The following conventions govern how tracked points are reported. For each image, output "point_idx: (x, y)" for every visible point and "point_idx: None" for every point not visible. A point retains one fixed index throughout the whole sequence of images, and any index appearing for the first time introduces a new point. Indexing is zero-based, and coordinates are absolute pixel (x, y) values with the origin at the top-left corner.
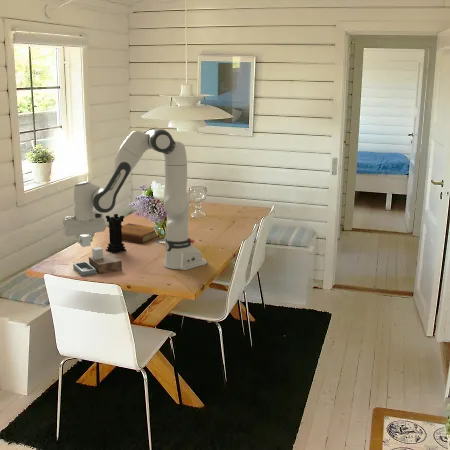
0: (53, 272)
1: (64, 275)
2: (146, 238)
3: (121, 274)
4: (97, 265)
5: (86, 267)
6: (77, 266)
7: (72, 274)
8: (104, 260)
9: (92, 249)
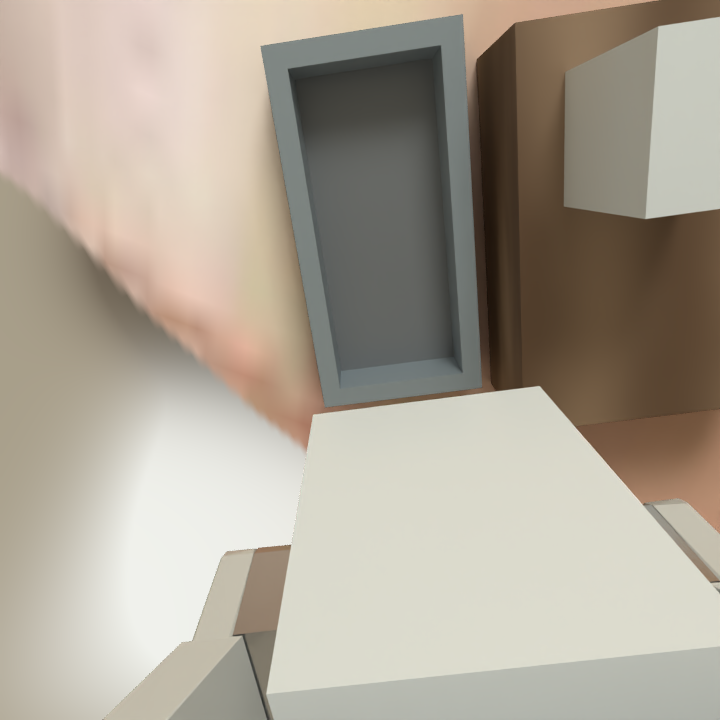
0: (26, 128)
1: (154, 284)
2: None
3: (674, 459)
4: (515, 386)
5: (426, 127)
6: (301, 206)
7: (238, 285)
8: (656, 301)
9: (639, 52)
